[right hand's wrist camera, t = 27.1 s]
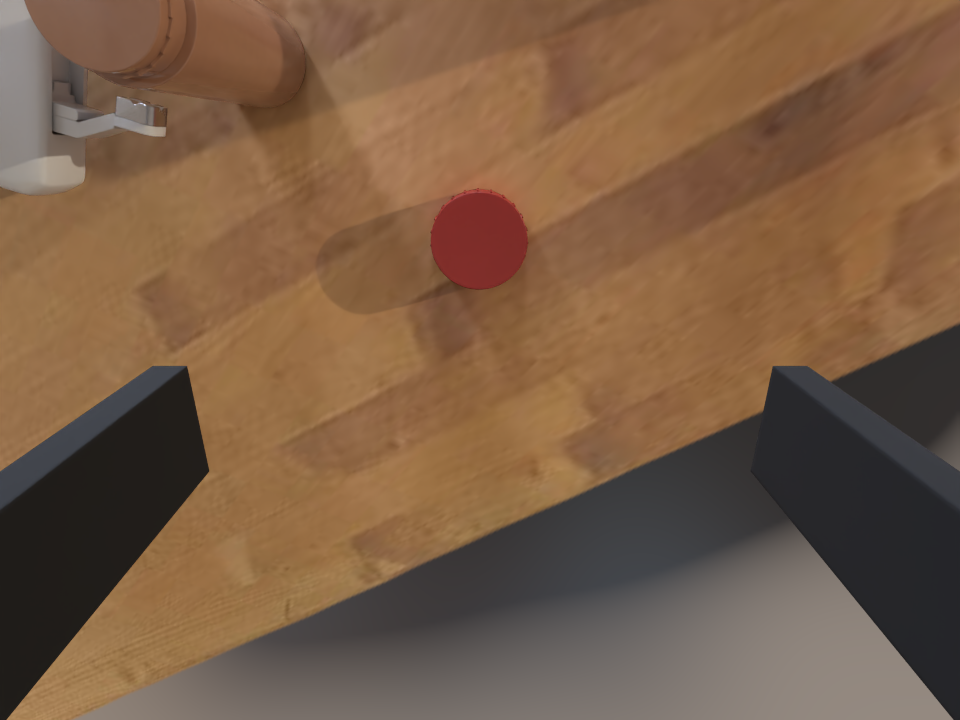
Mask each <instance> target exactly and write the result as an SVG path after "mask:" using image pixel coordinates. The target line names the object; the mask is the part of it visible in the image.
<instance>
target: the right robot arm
mask: <svg viewBox="0 0 960 720" xmlns="http://www.w3.org/2000/svg"><path fill="white" fill-rule="evenodd" d="M208 472H209V468H208V463H207V458H206V453H205V449H204V444H203V439H202V435H201V430H200V425H199V420H198V416H197V411H196V406H195V401H194V397H193V392H192V387H191V383H190V378H189V373H188V368H187V366H152V367H151V368H149V369H148V370H146V371H145V372H144V373H142V374H141V375H139V376H138V377H136V378H135V379H133V380H132V381H131V382H129V383H128V384H126V385H125V386H123V387H122V388H120V389H119V390H117V391H116V392H115V393H113V394H112V395H110V396H109V397H107V398H106V399H104V400H103V401H102V402H100V403H99V404H97V405H96V406H94V407H93V408H91V409H90V410H89V411H87V412H86V413H84V414H83V415H81V416H80V417H78V418H77V419H76V420H74V421H73V422H71V423H70V424H68V425H67V426H65V427H64V428H63V429H61V430H60V431H58V432H57V433H55V434H54V435H52V436H51V437H49V438H48V439H47V440H45V441H44V442H42V443H41V444H39V445H38V446H36V447H35V448H34V449H32V450H31V451H29V452H28V453H26V454H25V455H23V456H22V457H21V458H19V459H18V460H16V461H15V462H13V463H12V464H10V465H9V466H8V467H6V468H5V469H3V470H2V471H0V720H7V718H8V717H9V716H10V715H11V713H12V712H13V711H14V710H15V709H16V707H17V706H18V705H19V704H20V702H21V701H22V700H23V699H24V697H25V696H26V695H27V694H28V693H29V691H30V690H31V689H32V688H33V686H34V685H35V684H36V683H37V682H38V680H39V679H40V678H41V677H42V675H43V674H44V673H45V672H46V671H47V669H48V668H49V667H50V666H51V664H52V663H53V662H54V661H55V660H56V658H57V657H58V656H59V655H60V653H61V652H62V651H63V650H64V649H65V647H66V646H67V645H68V644H69V642H70V641H71V640H72V639H73V638H74V636H75V635H76V634H77V633H78V631H79V630H80V629H81V628H82V626H83V625H84V624H85V623H86V622H87V620H88V619H89V618H90V617H91V615H92V614H93V613H94V612H95V611H96V609H97V608H98V607H99V606H100V604H101V603H102V602H103V601H104V600H105V598H106V597H107V596H108V595H109V593H110V592H111V591H112V590H113V589H114V587H115V586H116V585H117V584H118V582H119V581H120V580H121V579H122V578H123V576H124V575H125V574H126V573H127V571H128V570H129V569H130V568H131V567H132V565H133V564H134V563H135V562H136V560H137V559H138V558H139V557H140V555H141V554H142V553H143V552H144V551H145V549H146V548H147V547H148V546H149V544H150V543H151V542H152V541H153V540H154V538H155V537H156V536H157V535H158V533H159V532H160V531H161V530H162V529H163V527H164V526H165V525H166V524H167V522H168V521H169V520H170V519H171V518H172V516H173V515H174V514H175V513H176V511H177V510H178V509H179V508H180V507H181V505H182V504H183V503H184V502H185V500H186V499H187V498H188V497H189V495H190V494H191V493H192V492H193V491H194V489H195V488H196V487H197V486H198V484H199V483H200V482H201V481H202V480H203V478H204V477H205V476H206V475H207V473H208ZM751 472H752V473H753V475H754V476H755V477H756V478H757V480H758V481H759V482H760V483H761V484H762V486H763V487H764V488H765V489H766V491H767V492H768V493H769V494H770V496H771V497H772V498H773V499H774V500H775V501H776V503H777V504H778V505H779V507H780V508H781V509H782V510H783V511H784V513H785V514H786V515H787V516H788V517H789V519H790V520H791V521H792V522H793V524H794V525H795V526H796V527H797V529H798V530H799V531H800V532H801V533H802V535H803V536H804V537H805V538H806V540H807V541H808V542H809V543H810V544H811V546H812V547H813V548H814V549H815V551H816V552H817V553H818V554H819V555H820V557H821V558H822V559H823V560H824V562H825V563H826V564H827V565H828V567H829V568H830V569H831V570H832V571H833V573H834V574H835V575H836V576H837V578H838V579H839V580H840V581H841V582H842V584H843V585H844V586H845V587H846V589H847V590H848V591H849V592H850V593H851V595H852V596H853V597H854V598H855V600H856V601H857V602H858V603H859V604H860V606H861V607H862V608H863V609H864V610H865V612H866V613H867V614H868V615H869V617H870V618H871V619H872V620H873V622H874V623H875V624H876V625H877V626H878V628H879V629H880V630H881V631H882V632H883V634H884V635H885V636H886V637H887V639H888V640H889V641H890V642H891V644H892V645H893V646H894V647H895V648H896V650H897V651H898V652H899V653H900V655H901V656H902V657H903V658H904V659H905V661H906V662H907V663H908V664H909V666H910V667H911V668H912V669H913V671H914V672H915V673H916V674H917V675H918V677H919V678H920V679H921V680H922V681H923V683H924V684H925V685H926V686H927V688H928V689H929V690H930V691H931V692H932V694H933V695H934V696H935V697H936V699H937V700H938V701H939V702H940V704H941V705H942V706H943V707H944V709H945V710H946V711H947V712H948V713H949V715H950V716H951V717H952V718H953V720H960V471H958V470H957V469H955V468H954V467H952V466H951V465H950V464H948V463H947V462H945V461H944V460H942V459H941V458H939V457H938V456H937V455H935V454H934V453H932V452H931V451H929V450H928V449H926V448H925V447H924V446H922V445H921V444H919V443H918V442H916V441H915V440H913V439H912V438H911V437H909V436H908V435H906V434H905V433H903V432H902V431H900V430H899V429H897V428H896V427H895V426H893V425H892V424H890V423H889V422H887V421H886V420H884V419H883V418H882V417H880V416H879V415H877V414H876V413H874V412H873V411H871V410H870V409H869V408H867V407H866V406H864V405H863V404H861V403H860V402H858V401H857V400H856V399H854V398H853V397H851V396H850V395H848V394H847V393H845V392H844V391H843V390H841V389H840V388H838V387H837V386H835V385H834V384H832V383H831V382H829V381H828V380H827V379H825V378H824V377H822V376H821V375H819V374H818V373H816V372H815V371H814V370H812V369H811V368H809V367H808V366H773V368H772V373H771V378H770V383H769V387H768V392H767V397H766V401H765V406H764V411H763V416H762V420H761V425H760V430H759V435H758V439H757V444H756V449H755V454H754V459H753V463H752V468H751Z"/></svg>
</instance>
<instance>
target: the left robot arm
mask: <svg viewBox="0 0 960 720" xmlns="http://www.w3.org/2000/svg"><path fill="white" fill-rule="evenodd" d="M87 81H88V69H86V68H83V67H81V66H79V65H77V64H75V63H73V62H71V61H70V60H68V59H67V58H65V57H64V56H63V55H61V54H60V53H59V52H58V51H57V50H55V49H54V48H53V47H52V46H51V45H50V44H49V43H48V41H47V40H46V39H45V38H44V37H43V35H42V34H41V33H40V31H39V30H38V29H37V27H36V25H35V24H34V22H33V20H32V18H31V16H30V14H29V12H28V10H27V7H26V4H25V1H24V0H0V187H2V188H5V189H8V190H11V191H14V192H18V193H21V194H25V195H52V194H58V193H63V192H66V191H68V190H71V189H73V188H75V187H76V186H78V185H80V184H82V183H83V182H84V179H85V164H86V138H106V137H110V136H113V135H117V134H120V133H123V132H127V131H133V132H136V133H140V134H143V135H148V136H154V137H165V135H166V122H167V108H166V107H164V106H160V105H155V104H151V103H150V102H147V101H144V100H140V99H137V98H126V97H120V96H117V98H116V112H115V113H111V114H107V115H104V114H103V112H102V111H100V110H97V109H94V108H90V107H87Z"/></svg>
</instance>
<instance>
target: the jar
mask: <svg viewBox="0 0 960 720" xmlns="http://www.w3.org/2000/svg"><path fill="white" fill-rule="evenodd" d="M24 1H25V4H26V7H27V10H28V12H29V14H30V16H31V18H32V20H33V22H34V24H35V25H36V27H37V29H38V30H39V31H40V33H41V34H42V35H43V37H44V38H45V39H46V40H47V41H48V43H49V44H50V45H51V46H52V47H53V48H54V49H55V50H57V51H58V52H59V53H60V54H61V55H63V56H64V57H65V58H67V59H68V60H70V61H71V62H73V63H75V64H77V65H79V66H81V67H83V68H86V69H89V70H90V71H93V72H95V73H96V74H97V75H99V76H101V77H102V78H104V79H106V80H108V81H110V82H112V83H115V84H117V85H121V86H124V87H129V88H135V89H141V90H148V91H155V92H161V93H168V94H175V95H182V96H188V97H195V98H202V99H209V100H215V101H222V102H229V103H235V104H242V105H249V106H256V107H262V108H270V107H276V106H280V105H282V104H284V103H286V102H287V101H289V100H290V99H291V98H292V97H294V95H295V94H296V93H297V92H298V90H299V88H300V87H301V84H302V82H303V79H304V75H305V65H306V63H305V54H304V49H303V46H302V43H301V41H300V39H299V36H298V35H297V33H296V31H295V30H294V29H293V27H292V26H291V25H290V24H289V23H288V21H287V20H285V19H284V18H283V17H282V16H280V15H279V14H277V13H276V12H274V11H273V10H271V9H269V8H268V7H266V6H265V5H263V4H261V3H260V2H258V1H257V0H24Z"/></svg>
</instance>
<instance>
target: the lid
mask: <svg viewBox="0 0 960 720" xmlns="http://www.w3.org/2000/svg"><path fill="white" fill-rule="evenodd" d="M522 218H523V216H522V215H521V213H520V214H519V212H518V210H517V209H516V207H515V205H514V203H511V202H510V201H509V200H508V199H506V198H505V197H504V195H500V194H498V193H496V192H493V191H492V190H490V191H489V190H483V189H479V188H477V189H476V190H469V191H466V190H465V191H464V192H463V193H461V194H458V195H457V196H455V197H454V196H453V197H452V198H451V200H450V201H448V202H447V203H446V204H445V205H443V206H442V208H441V211H440V213H439V214H438V216H436V217H435V219H434V220H435V223H434V225H433V229H432V230H431V248H432V253H433V256H434V259H435V261H436V263H437V265H438V267H439V268H440V270H441V271H442V272H443V274H444V275H446V276H447V277H448V278H449V279H450V280H451V281H453V282H454V283H456V284H458V285H460V286H463V287H466V288H470V289H489V288H493V287H496V286H498V285H500V284H502V283H504V282H506V281H507V280H508V279H510V278H511V277H512V276H513V275H514V274H515V273H516V272H517V270H518V269H519V268H520V266H521V264H522V262H523V260H524V258H525V256H526V255H525V254H526V250H527V244H528V241H527V228H526V226H525V224H524V221H523V219H522Z"/></svg>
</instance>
